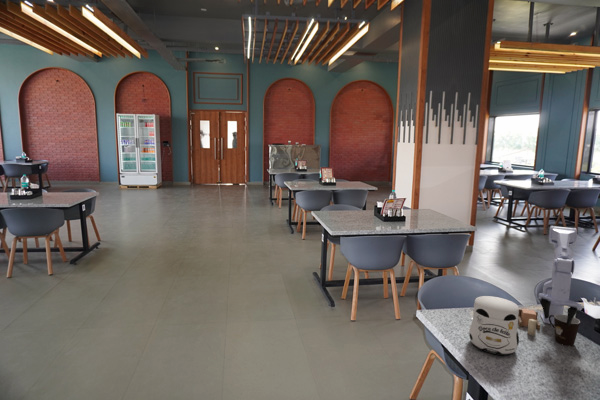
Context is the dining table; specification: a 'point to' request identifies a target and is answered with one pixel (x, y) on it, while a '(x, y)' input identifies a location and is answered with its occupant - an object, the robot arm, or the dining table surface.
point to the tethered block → (529, 320)
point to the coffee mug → (565, 329)
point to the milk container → (495, 325)
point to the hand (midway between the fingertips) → (557, 321)
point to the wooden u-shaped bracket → (521, 320)
